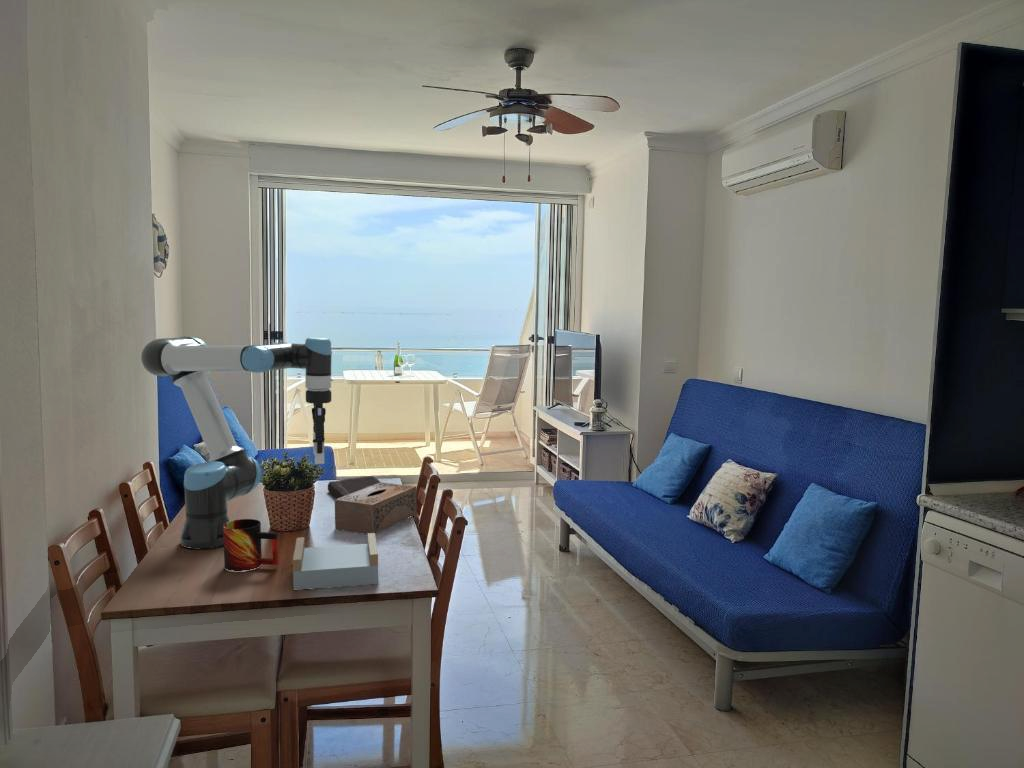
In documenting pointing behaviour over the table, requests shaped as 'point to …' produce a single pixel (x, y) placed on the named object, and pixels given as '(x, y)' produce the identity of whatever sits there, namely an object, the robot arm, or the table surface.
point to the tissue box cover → (375, 508)
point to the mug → (246, 545)
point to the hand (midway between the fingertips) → (318, 458)
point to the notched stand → (335, 565)
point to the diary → (350, 485)
